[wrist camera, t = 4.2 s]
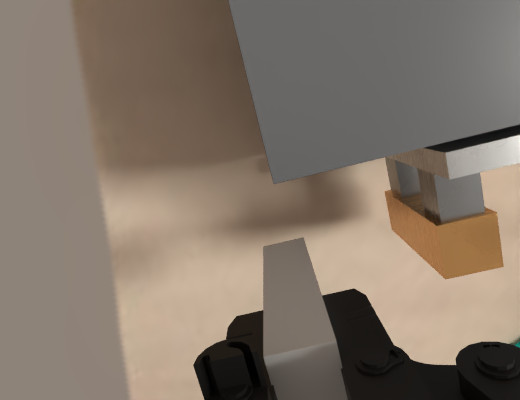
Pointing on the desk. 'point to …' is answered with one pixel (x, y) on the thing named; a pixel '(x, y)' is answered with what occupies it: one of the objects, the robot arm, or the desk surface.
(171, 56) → the desk surface
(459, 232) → the side door
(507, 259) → the desk surface
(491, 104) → the case
